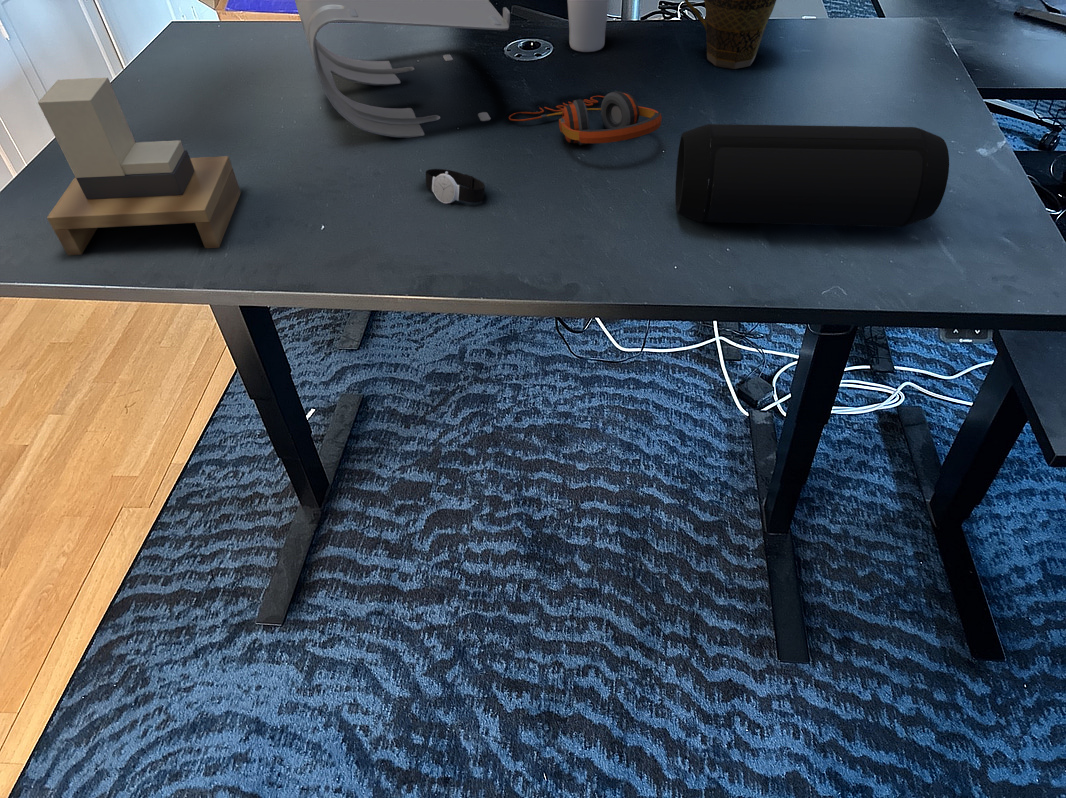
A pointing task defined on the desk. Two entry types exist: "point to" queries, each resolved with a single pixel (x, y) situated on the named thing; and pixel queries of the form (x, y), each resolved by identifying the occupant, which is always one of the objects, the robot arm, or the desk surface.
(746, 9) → the ceramic cup
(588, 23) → the white tapered cylinder
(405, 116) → the laptop stand
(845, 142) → the portable speaker
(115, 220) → the display stand
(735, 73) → the desk surface
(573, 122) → the headphones
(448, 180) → the watch
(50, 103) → the shoe
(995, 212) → the desk surface
